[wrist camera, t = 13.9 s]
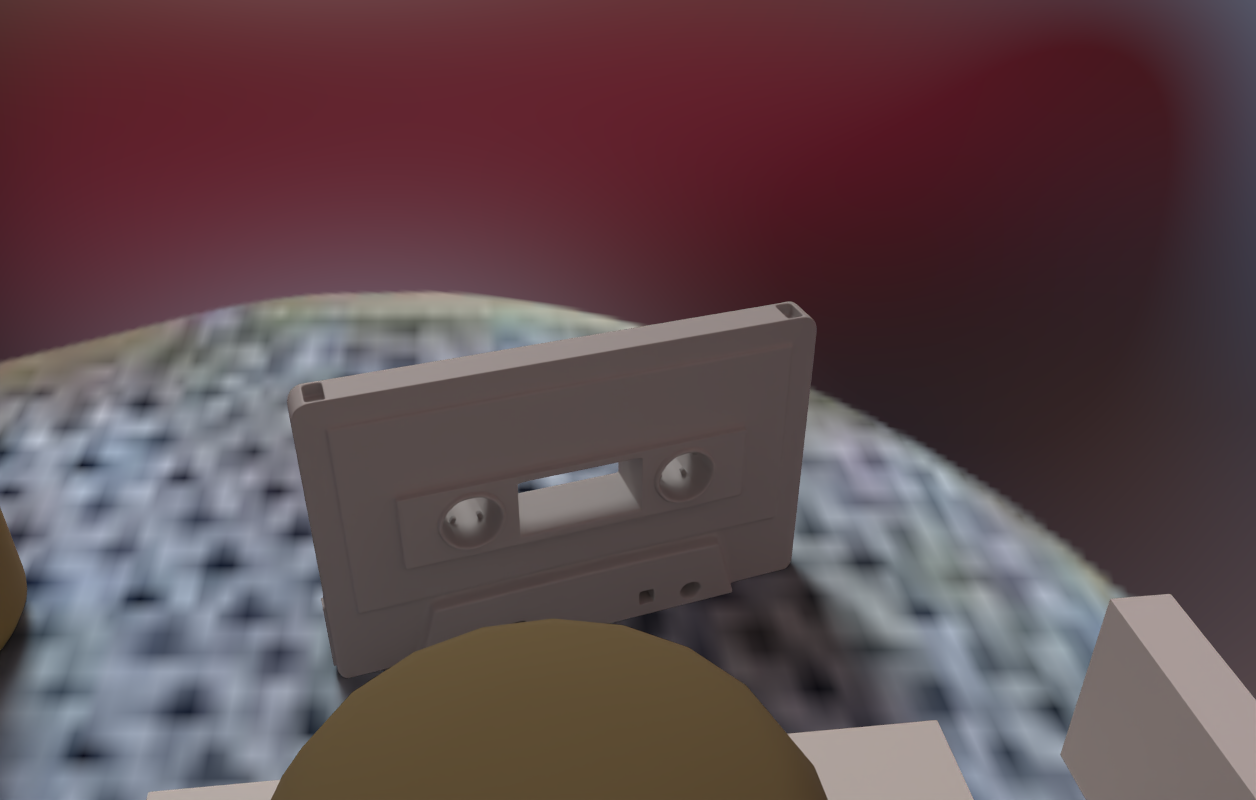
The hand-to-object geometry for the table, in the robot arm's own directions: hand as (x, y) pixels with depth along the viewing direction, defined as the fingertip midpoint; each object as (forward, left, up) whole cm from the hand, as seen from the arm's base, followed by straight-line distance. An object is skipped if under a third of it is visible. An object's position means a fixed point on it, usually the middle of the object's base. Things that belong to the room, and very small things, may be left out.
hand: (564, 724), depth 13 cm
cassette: (+1, +12, -9) cm, 15 cm away
